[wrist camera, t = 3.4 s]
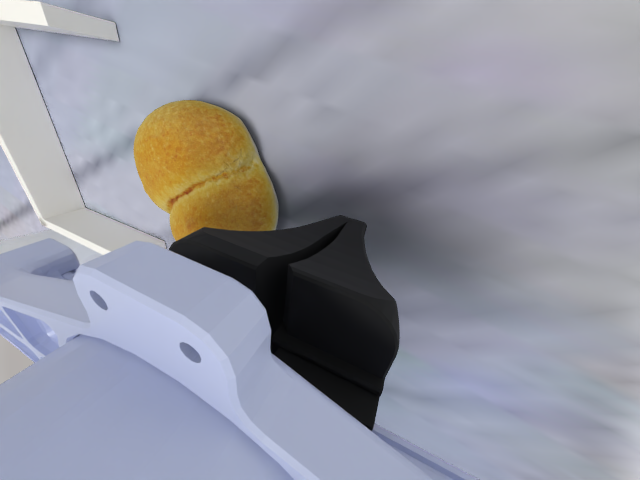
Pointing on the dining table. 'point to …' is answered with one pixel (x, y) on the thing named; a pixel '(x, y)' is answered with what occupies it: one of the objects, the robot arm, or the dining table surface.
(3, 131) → the tray
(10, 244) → the white short cylinder
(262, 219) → the bread roll
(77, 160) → the dining table surface
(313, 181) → the dining table surface
